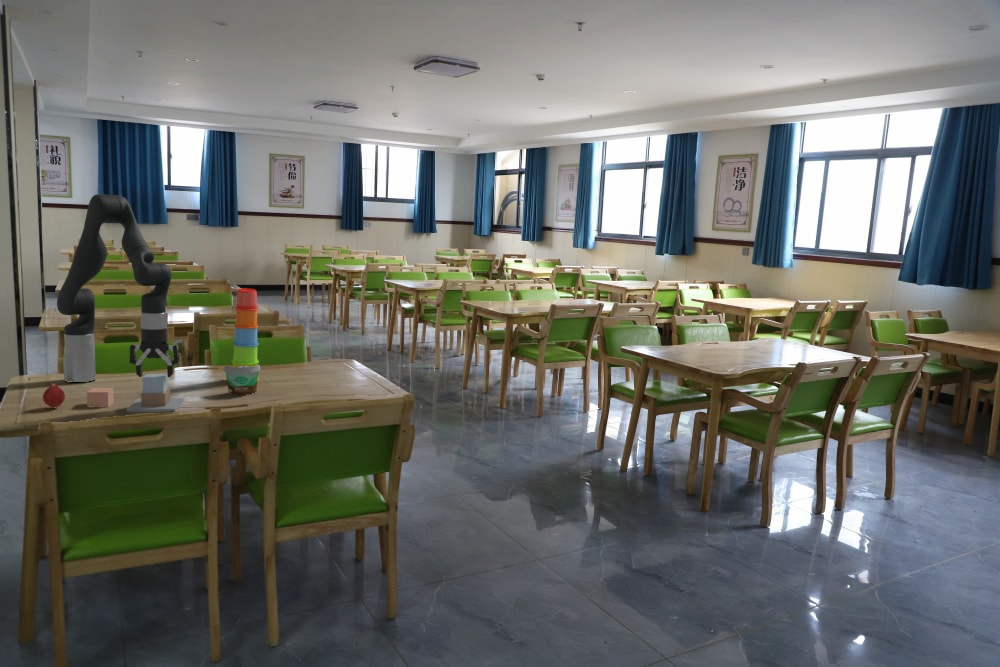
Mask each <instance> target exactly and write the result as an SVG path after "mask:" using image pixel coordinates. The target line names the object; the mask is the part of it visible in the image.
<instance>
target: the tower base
mask: <svg viewBox="0 0 1000 667" xmlns="http://www.w3.org/2000/svg"><path fill="white" fill-rule="evenodd" d="M184 401H185V399H184V397H171V388H167V390H166V391H165V392H164V393H146V394H143V392H141V395H140V397H139V398H138V397H137V399H135V400H134V402H132V404H130V406H128V407H127V408H126V413H168V412H167V411H175V412H177V410H178V409H179V408H180V406H181V405H182V403H183V402H184Z"/></svg>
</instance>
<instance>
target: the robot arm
mask: <svg viewBox="0 0 1000 667" xmlns="http://www.w3.org/2000/svg"><path fill="white" fill-rule="evenodd" d="M87 206H88V207H87V211H86V215H85V220H84V224H83V229H82V232H81V236H80V238H79V241H78V243H77V247H76V249H75V253H74V256H73V259H72V262H71V264H70V268H69V270H68V273H67V276H66V278H65V280H64V281H63V283H62V286H61V287H60V290H59V293H58V295H57V299H56V307H57V310H58V312H59V313H60V314H61V315H63V316H78V315H79V316H78V318H77V319H76V320H74V321H72V322H70V323H68V324H66V325H65V326H64V327H63V332H64V334H63V335H64V338H63V339H64V352H65V354H64V355H63V357H62V358H63V359H62V360H63V362H62V363H63V380H67V381H72V382H86V383H88V382H87V381H92V380H95V379H96V375H97V373H96V351H95V350H96V349H95V348H96V347H95V346H96V345H95V326H96V325H95V324H96V312H95V311H96V298H95V295H94V293H93V291H92V290H91V289H90V288H84V285H86V284H87V283H88V282H90V281H91V280H92V279H93V278H95V277H96V276H97V275H98V274H99V273H100V272H101V271H102V269H103V267H104V264H105V263H106V260H107V258H108V257H107V256H108V249H107V246H106V244H105V242H104V240H103V237H102V236H101V233H100V231H101V227H102V226H103V224H120V225H121V226H122V227H123V228H124V231H123V234H122V237H121V246H122V249H123V252H124V253H125V255H126V256H127V258H128V259H129V261H130V263H131V267H132V273H133V277H134V280H135V282H136V283H137V284H138V285H140V286H142V287H150V286H151V287H153V289H152V291H150V292H147V293H144V294H142V296H141V297H140V305H141V306H140V307H141V308H140V309H141V311H140V312H141V313H140V314H141V315H140V344H136V343H132V344H130V346H129V363H130V364H133V365H135V368H136V370H135V373H136V375H137V376H138V378H143V374H144V373H143V364H142V363H143V362H144V361H145V360H146V358H148V359H162V360H163V361H164V362H165V363H166V364H167V366H166V367H167V368H166V369H167V373H166V374H167V378H171V377H172V376H173V375H174V365H178V363H180V362H181V361H180V350H179V348H180V347H179V344H177V343H175V344H169V343H168V319H167V318H168V317H167V305H166V304H167V302H166V301H167V296H168V291H169V288H170V284H171V281H172V271H171V268H170V266H169V265H168V264H167V263H165V262H164V263H163V262H154V259H155V256H154V255H155V253H154V252H153V250H152V249H151V248H150V246H149V245H148V243H147V241H146V239H145V238H144V236H143V234H142V232H141V230H140V227H139V225H138V222H137V220H136V217H135V214H134V212H133V209H132V207H131V205H130V203H129V201H128V199H126V197H124V196H122V195H119V194H104V193H98V194H94V195H93V196H92V197H91V198H90V199H89V203H88V205H87ZM138 350H140V352H142V353H143V354H142V355H141V356H140V357H139V358H138V359H136V356H137V351H138ZM168 350H170V351H171V352H172V355H173V359H172V358H171V357H170V355H169V354H168V353H167V351H168ZM96 380H97V379H96ZM96 380H95V381H96ZM92 382H93V381H92Z"/></svg>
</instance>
